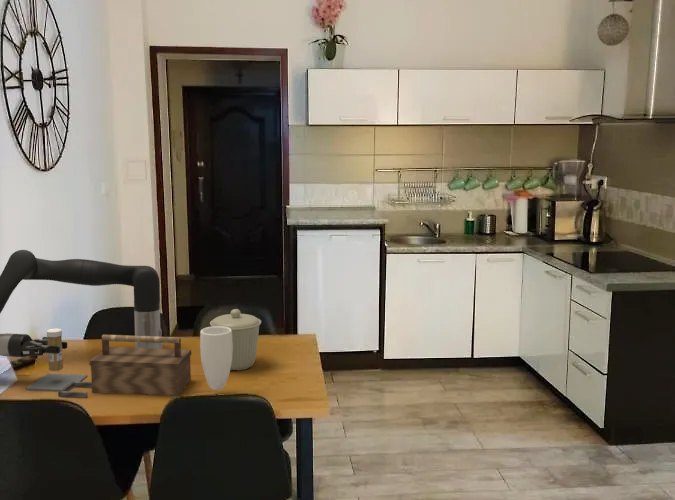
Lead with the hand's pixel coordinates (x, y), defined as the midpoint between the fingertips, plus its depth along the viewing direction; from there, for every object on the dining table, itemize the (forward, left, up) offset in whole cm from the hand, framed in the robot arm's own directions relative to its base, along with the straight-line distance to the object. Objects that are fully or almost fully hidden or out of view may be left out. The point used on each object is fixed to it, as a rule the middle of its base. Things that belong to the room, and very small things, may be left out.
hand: (62, 347), depth 217 cm
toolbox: (-18, +12, -12) cm, 25 cm away
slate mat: (+2, -1, -12) cm, 13 cm away
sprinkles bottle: (+2, -1, -8) cm, 8 cm away
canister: (-57, +6, -13) cm, 58 cm away
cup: (-43, +31, -12) cm, 54 cm away
